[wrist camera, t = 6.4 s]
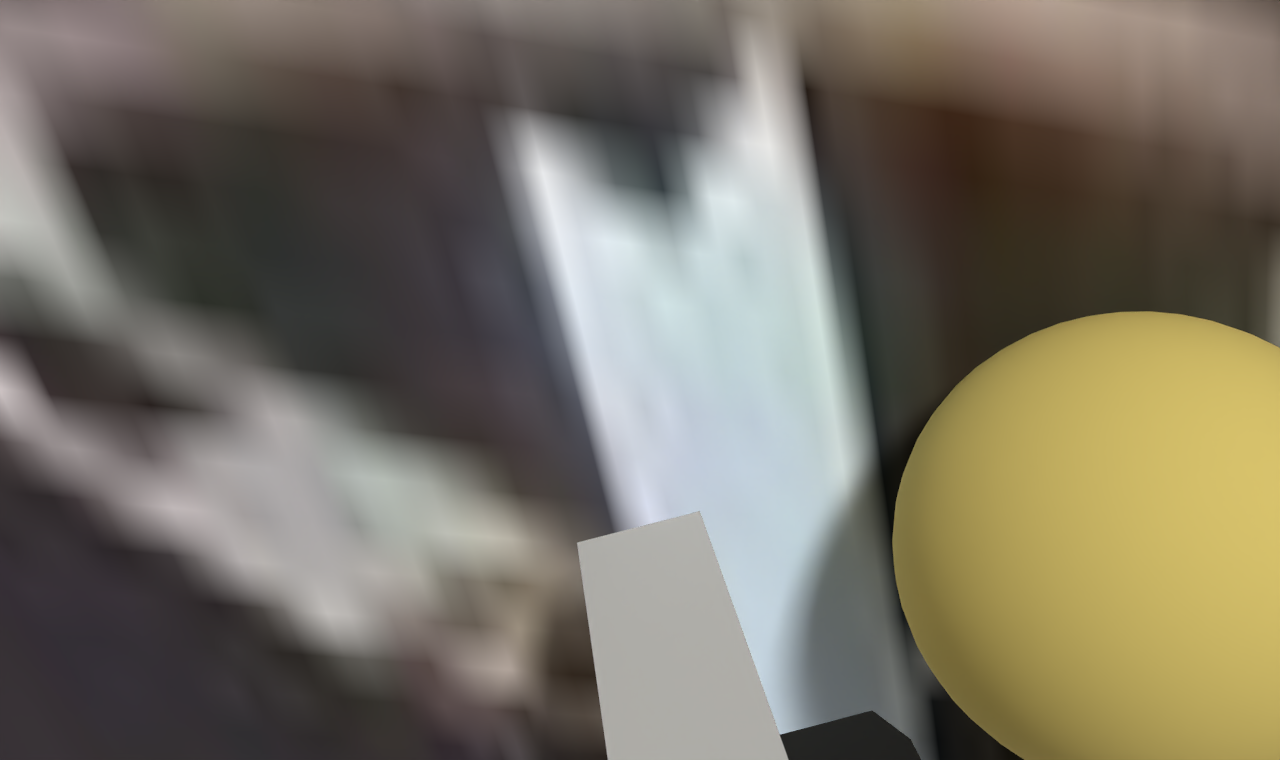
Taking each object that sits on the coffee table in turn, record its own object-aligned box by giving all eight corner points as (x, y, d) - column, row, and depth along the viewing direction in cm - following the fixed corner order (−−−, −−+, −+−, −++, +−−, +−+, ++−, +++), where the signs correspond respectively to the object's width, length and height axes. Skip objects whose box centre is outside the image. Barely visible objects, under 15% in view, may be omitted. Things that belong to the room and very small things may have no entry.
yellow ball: (825, 465, 11) (895, 266, 16) (896, 887, 13) (939, 602, 18) (1510, 440, 9) (1361, 222, 14) (1469, 942, 11) (1352, 607, 16)
